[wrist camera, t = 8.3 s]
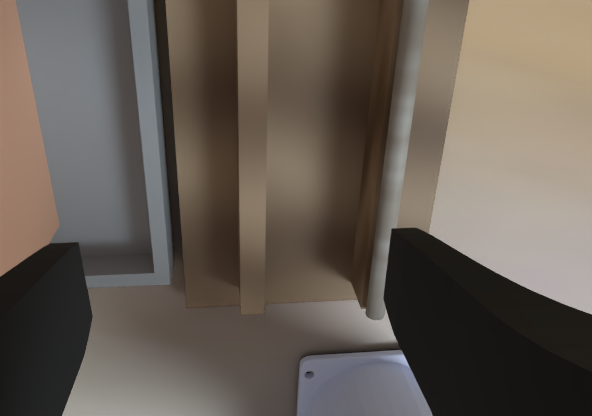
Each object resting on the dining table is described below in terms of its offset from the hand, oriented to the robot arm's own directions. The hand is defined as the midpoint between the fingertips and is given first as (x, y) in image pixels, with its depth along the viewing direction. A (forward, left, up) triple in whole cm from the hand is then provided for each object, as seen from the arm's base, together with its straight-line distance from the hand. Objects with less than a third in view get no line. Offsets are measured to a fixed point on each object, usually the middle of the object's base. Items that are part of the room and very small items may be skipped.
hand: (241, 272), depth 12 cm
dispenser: (+1, -3, -10) cm, 11 cm away
